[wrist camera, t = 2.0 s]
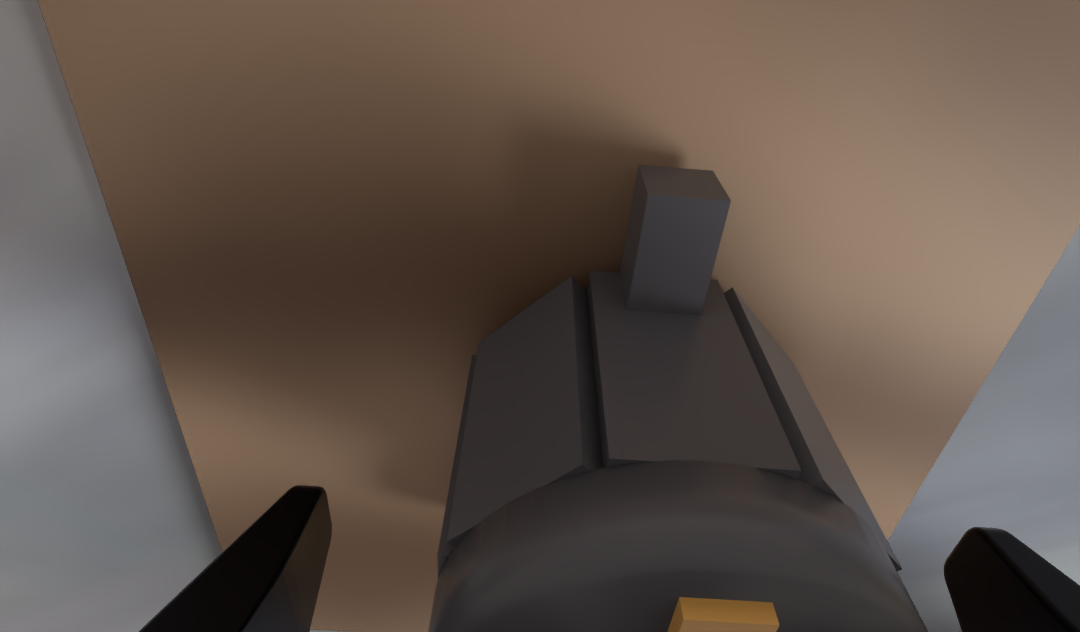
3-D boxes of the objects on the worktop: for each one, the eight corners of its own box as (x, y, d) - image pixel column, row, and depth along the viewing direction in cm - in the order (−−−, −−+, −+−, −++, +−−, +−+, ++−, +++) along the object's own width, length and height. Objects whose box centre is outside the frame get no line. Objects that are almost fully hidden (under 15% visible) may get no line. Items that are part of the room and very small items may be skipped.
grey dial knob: (742, 521, 12) (844, 852, 8) (466, 504, 12) (421, 831, 8) (875, 183, 8) (1212, 475, 4) (472, 152, 8) (387, 422, 4)
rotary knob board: (802, 618, 16) (888, 864, 12) (262, 588, 16) (161, 830, 12) (1345, -368, 6) (2846, -876, 2) (-60, -521, 6) (-1490, -1507, 2)
